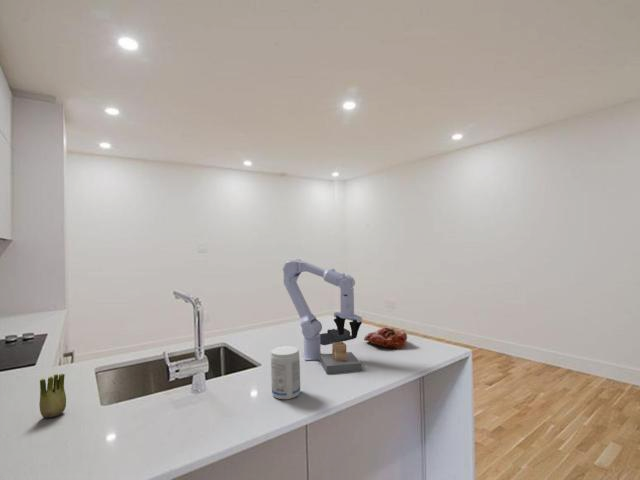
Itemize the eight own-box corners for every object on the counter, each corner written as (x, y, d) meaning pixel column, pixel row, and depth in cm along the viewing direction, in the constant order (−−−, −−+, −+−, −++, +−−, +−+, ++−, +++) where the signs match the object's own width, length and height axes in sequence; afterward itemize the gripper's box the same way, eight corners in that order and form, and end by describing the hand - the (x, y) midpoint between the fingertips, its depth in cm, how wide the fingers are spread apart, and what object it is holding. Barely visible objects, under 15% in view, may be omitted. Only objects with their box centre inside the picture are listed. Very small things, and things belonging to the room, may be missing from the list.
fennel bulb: (38, 421, 97) (38, 379, 98) (44, 414, 102) (44, 373, 102) (62, 417, 100) (62, 376, 100) (67, 410, 104) (67, 370, 104)
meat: (355, 341, 173) (355, 322, 173) (390, 336, 181) (390, 318, 181) (377, 353, 154) (377, 331, 154) (415, 347, 162) (415, 326, 162)
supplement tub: (294, 385, 120) (293, 344, 120) (304, 396, 111) (304, 351, 111) (267, 391, 115) (267, 348, 116) (276, 403, 107) (276, 356, 107)
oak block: (332, 357, 140) (332, 342, 140) (342, 356, 141) (342, 341, 141) (336, 361, 136) (335, 346, 136) (346, 359, 137) (346, 344, 137)
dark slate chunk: (306, 340, 178) (306, 331, 178) (338, 333, 191) (338, 324, 191) (323, 347, 166) (323, 337, 166) (356, 339, 179) (356, 330, 179)
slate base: (319, 361, 144) (319, 354, 144) (351, 358, 147) (351, 352, 147) (326, 373, 130) (326, 366, 130) (361, 370, 133) (361, 363, 133)
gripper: (328, 303, 147) (329, 334, 147) (353, 307, 137) (353, 341, 136) (340, 301, 152) (340, 331, 152) (364, 305, 141) (365, 338, 141)
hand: (347, 336), depth 145 cm, fingers open, 7 cm apart
